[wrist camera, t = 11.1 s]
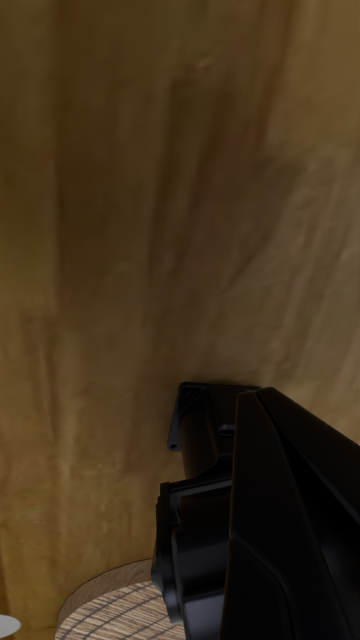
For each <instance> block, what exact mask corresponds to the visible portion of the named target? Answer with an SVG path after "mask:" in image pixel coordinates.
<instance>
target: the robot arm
mask: <svg viewBox="0 0 360 640" xmlns="http://www.w3.org/2000/svg"><path fill="white" fill-rule="evenodd" d="M184 389H188V390H186V391H185V390H184ZM172 444H173V445H172ZM167 446H168V449H169V450H171V451H182V457H183V464H184V471H185V478H186V480H182V481H177V482H173V483H170V482H165V483H161V484H160V496H159V497H158V503H157V504H156V525H157V532H156V541H155V547H154V553H153V559H152V565H151V581H152V584H153V585H154V586H155V587H156V588H157V589H158V590H159V591H160V592H161V593H162V597H163V601H164V603H165V605H166V609H167V613H168V617H169V620H170V623H171V624H172V626H173V625H177V624H181V623H183V626H184V632H185V638H186V640H360V446H359V445H358V444H356V443H355V442H353V441H352V440H350V439H349V438H347V437H346V436H344V435H343V434H341V433H340V432H339V431H337V430H336V429H334V428H333V427H331V426H330V425H328V424H327V423H325V422H324V421H322V420H321V419H319V418H318V417H316V416H315V415H313V414H312V413H310V412H309V411H308V410H306V409H305V408H303V407H302V406H300V405H299V404H297V403H296V402H294V401H293V400H291V399H290V398H288V397H287V396H285V395H284V394H282V393H281V392H279V391H278V390H277V389H275V388H273V387H265V388H261V387H251V386H237V385H222V384H206V383H190V382H184V383H182V384H181V385H180V386H179V389H178V394H177V398H176V403H175V408H174V412H173V417H172V422H171V427H170V431H169V436H168V441H167Z"/></svg>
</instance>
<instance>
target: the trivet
mask: <svg viewBox="0 0 360 640" xmlns="http://www.w3.org/2000/svg"><path fill="white" fill-rule="evenodd" d="M151 565H152V559H150V560H144V561H139V562H134V563H131V564H128V565H125V566H122V567H119V568H116V569H113V570H110V571H107V572H105V573H103V574H102V575H100V576H98V577H96V578H94V579H92V580H90V581H89V582H87V583H85V584H83V585H82V586H81V587H80V588H79V589H77V590H76V591H75V592H74V593H73V594H72V595H71V596H69V597H68V598H67V600H66V601H65V603H64V605H63V607H62V609H61V610H60V612H59V617H58V622H57V628H56V634H55V640H186V638H185V632H184V626H183V623H181V624H177V625H173V626H172V624H171V623H170V620H169V617H168V613H167V609H166V605H165V603H164V601H163V597H162V593H161V592H160V591H159V590H158V589H157V588H156V587H155V586H154V585H153V584H152V581H151Z"/></svg>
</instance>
